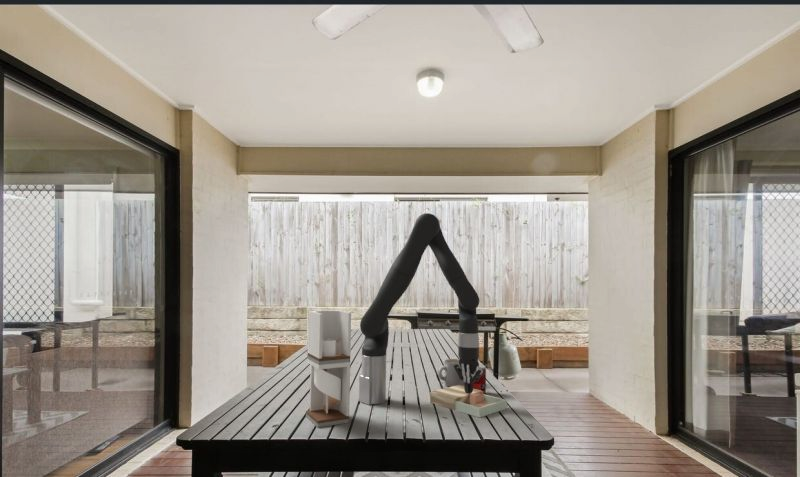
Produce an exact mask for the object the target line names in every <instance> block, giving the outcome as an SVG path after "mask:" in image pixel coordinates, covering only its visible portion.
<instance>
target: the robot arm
mask: <svg viewBox="0 0 800 477" xmlns="http://www.w3.org/2000/svg"><path fill="white" fill-rule="evenodd" d="M428 247H429V248H430V249H431V251H432V254H434V257H435V259H436V261H437V263H438V266H439V268H440V270H441V272H442V274H443V275H444V278H445V280H446V281H447V283H448V285H449V286H450V288H451V289H452V290H453V291H454V293H455V295H456V297H457V303H458V305H457V306H458V309H457V310H458V316H459V319H458V320H459V322H458V324H459V325H458V344H457V345H458V347H457V348H458V355H457V356H458V359H459V363H458V364H457V365H454V368H455V370H456V372H457V374H458V376H459V378H460V380H463V381H464V390H465V393H468V394H470V393H472V392H473V382H477V381H478V380H479V378H480V377H481V375H482V374H483V373H484V369H481V368H480V367H479V365H480V363H479V358H480V337H479V320H478V316H477V308H478V307H479V305H480V297H479V295H478V293H477V292H476V290H475V288H474V286H473V285H472V283H471V282H470V280H469V279H468V277H467V275H466V273H465V272H464V269H463V268H462V266H461V264H460V262H459V261H458V260H457V257H456V256H455V255H454V253H453V251H452V250H451V248H450V246H449V245H448V243H447V241H446V238H445V236H444V234H443V231H442V228H441V224H440V220H439V219H438V218H437V216H435V215H434V214H432V213H422V214H420V215H419V216H418V217H417V218H416V219H415V222H414V225H413V228H412V229H411V232H410V234H409V237H408V239H407V241H406V243H405V245H404V246H403V247H402V249H401V250H400V252H399V254H397V256H396V258H395V259H394V261H393V263H392V265H391V266H390V268H389V270H388V271H387V273H386V276H385V278H384V279H383V281H382V283H381V285H380V288H379V290H378V292H377V294H376V295H375V296H376V297H375V299H374V300H373V301H372V303H371V305H370V306H369V307H368V309H367V310H366V311H365V313H364V314H363V316H362V317H361V319H360V324H359V327H360V328H359V329H360V331H361V334H363V335H364V342H363V345H362V347H361V374H360V375H359V376H358V377H359V384H358V402H360V403H363V404H366V405H369V406H370V405H379V404H384V403H386V401H387V395H386V394H387V349H388V346H389V328H390V327H389V326H390V325H389V320H388V316H389V315H390V312H391V311H392V309H393V308H394V306H395V305H396V303H397V302H398V301H399V300H400V299H401V297H402V296H403V295H404V293H406V291H407V289H408V288H409V286H410V285H411V283H412V281H413V278H414V277H415V276H416V273H417V270H418V268H419V265H420V263H421V261H422V258H423V254H424V253H425V251H426V250H427V248H428ZM475 371H476V373H475ZM461 374H462V375H461Z"/></svg>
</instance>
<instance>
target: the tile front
mask: <svg viewBox="0 0 800 477" xmlns="http://www.w3.org/2000/svg"><path fill="white" fill-rule="evenodd" d="M489 404H492V403H489V402H485V401H484V402H481V403H478V404H476V407H482V406H485V405H489Z"/></svg>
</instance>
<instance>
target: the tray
mask: <svg viewBox="0 0 800 477" xmlns="http://www.w3.org/2000/svg"><path fill="white" fill-rule="evenodd" d="M484 401H485V402H489V403H492V404H489V405H485V406H482V407H476V406H472V405H469V404H465V403H462V402H458V401H455V410H454V411H457V412H460V413H464V414H467V415H470V416H473V417H477V418H483V417H485V416H488V414H489V415H491V414H494V413H495V414H496V413H497V412H501V411H504V410H507V407H508V405H507V404H508V403H507V402H508V401H507V399H504V398H501V397H496V396H493V395H488V394H486V393H485V394H484Z"/></svg>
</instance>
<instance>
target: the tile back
mask: <svg viewBox="0 0 800 477" xmlns="http://www.w3.org/2000/svg"><path fill="white" fill-rule="evenodd" d="M481 402H484V393H480V392H477V393H473V394H470V405H472V406H476V404H478V403H481Z"/></svg>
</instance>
